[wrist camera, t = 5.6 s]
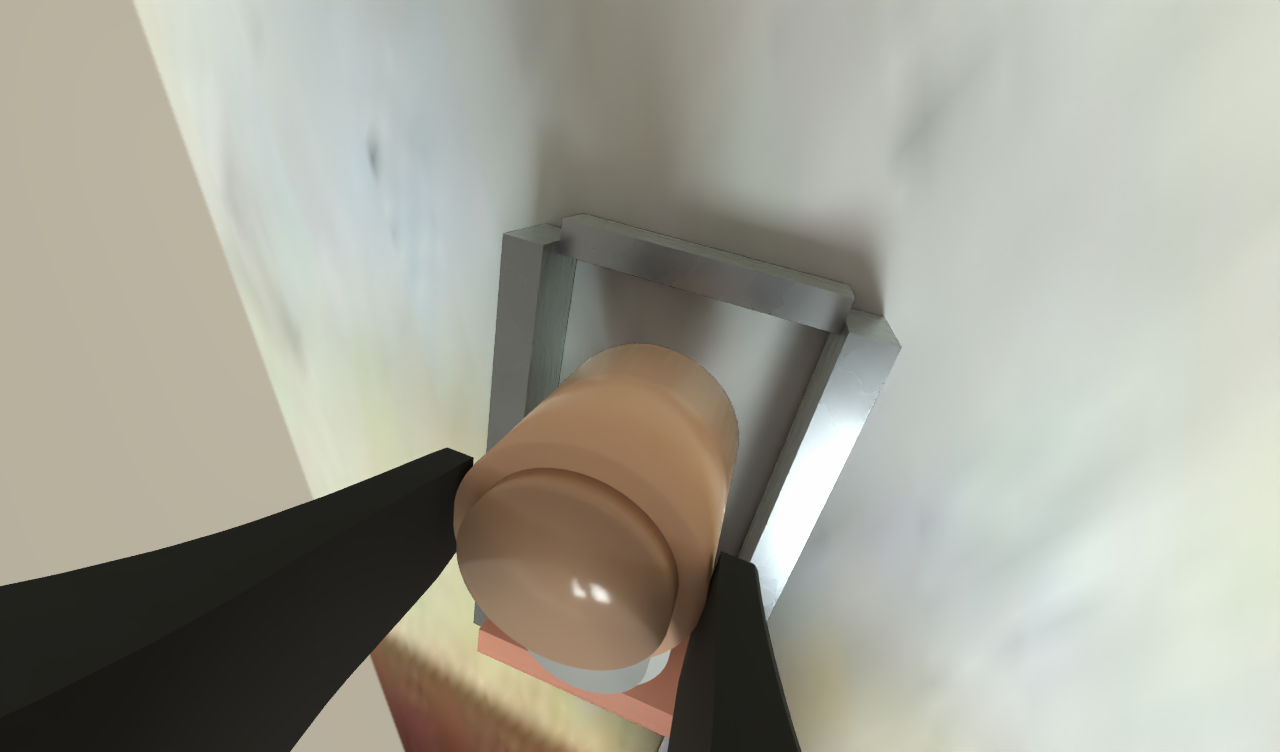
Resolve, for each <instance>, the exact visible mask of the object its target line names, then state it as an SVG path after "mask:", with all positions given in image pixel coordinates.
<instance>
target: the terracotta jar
mask: <svg viewBox="0 0 1280 752" xmlns="http://www.w3.org/2000/svg"><path fill="white" fill-rule="evenodd" d="M738 446H739V429H738V422H737V418H736V415H735V411H734V408H733V406H732V404H731V402H730V399H729V398H728V396H727V394H726V393H725V391H724V389H723V388H722V387H721V385H720V384H719V383H718V382H717V380H716V379H715V378H714V377H713V376H712V375H711V374H710V373H709V372H708V371H707V370H706V369H704V368H703V367H702V366H700V365H699V364H698V363H697V362H695V361H693V360H692V359H690V358H688V357H687V356H685V355H683V354H681V353H678V352H676V351H674V350H671V349H668V348H665V347H661V346H657V345H651V344H636V343H634V344H623V345H619V346H615V347H611V348H608V349H606V350H603V351H601V352H599V353H597V354H595V355H594V356H592V357H591V358H589V359H588V360H587V361H586V362H584V363H583V364H582V365H581V366H580V367H579V368H578V369H577V370H576V371H574V372H573V373H572V374H571V375H570V376H569V377H568V378H567V379H566V380H565V381H564V382H563V383H562V384H560V385H559V386H558V387H557V388H556V389H555V390H554V391H553V392H552V393H551V394H550V395H549V396H548V397H546V398H545V399H544V400H543V401H542V402H541V403H540V404H539V405H538V406H537V407H536V408H535V409H534V410H532V411H531V412H530V413H529V414H528V415H527V416H526V417H525V418H524V419H523V420H522V421H521V422H520V423H518V424H517V425H516V426H515V427H514V428H513V429H512V430H511V431H510V432H509V433H508V434H507V435H506V436H504V437H503V438H502V439H501V440H500V441H499V442H498V443H497V444H496V445H495V446H494V447H493V448H492V449H490V450H489V451H488V452H487V453H486V454H485V455H484V456H483V457H482V458H481V459H480V460H479V461H478V462H476V463H475V464H474V466H473V467H472V468H471V469H470V470H469V471H468V472H467V473H466V475H465V477H464V478H463V480H462V481H461V483H460V485H459V488H458V491H457V493H456V496H455V501H454V521H453V526H454V534H455V538H456V542H457V544H456V552H457V560H458V565H459V568H460V572H461V575H462V577H463V580H464V582H465V584H466V586H467V588H468V590H469V592H470V594H471V595H472V597H473V598H474V600H475V601H476V603H477V604H478V606H479V607H480V608H481V609H482V611H483V612H484V613H485V614H486V616H487V617H488V618H489V619H490V620H491V621H492V622H493V623H494V624H495V625H496V626H497V627H498V628H500V629H501V630H502V631H503V632H504V633H505V634H507V635H508V636H509V637H511V638H512V639H513V640H515V641H516V642H517V643H519V644H521V645H522V646H524V647H525V648H527V649H529V650H531V651H532V652H534V653H536V654H538V655H540V656H542V657H545V658H547V659H549V660H551V661H554V662H557V663H560V664H563V665H567V666H571V667H575V668H580V669H586V670H600V671H604V670H616V669H621V668H626V667H629V666H632V665H635V664H637V663H639V662H641V661H643V660H645V659H646V658H651V657H654V656H657V655H660V654H662V653H665V652H667V651H668V650H670V649H672V648H674V647H676V646H677V645H678V644H680V643H681V642H682V641H684V640H685V639H686V638H687V637H688V636H689V635H690V634H691V632H692V631H693V630H694V629H695V627H696V626H697V624H698V621H699V619H700V616H701V614H702V611H703V609H704V606H705V604H706V600H707V595H708V590H709V585H710V580H711V576H712V572H713V567H714V562H715V557H716V552H717V548H718V543H719V538H720V533H721V528H722V524H723V519H724V514H725V509H726V504H727V500H728V495H729V490H730V485H731V481H732V476H733V471H734V466H735V461H736V457H737V451H738Z"/></svg>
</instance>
